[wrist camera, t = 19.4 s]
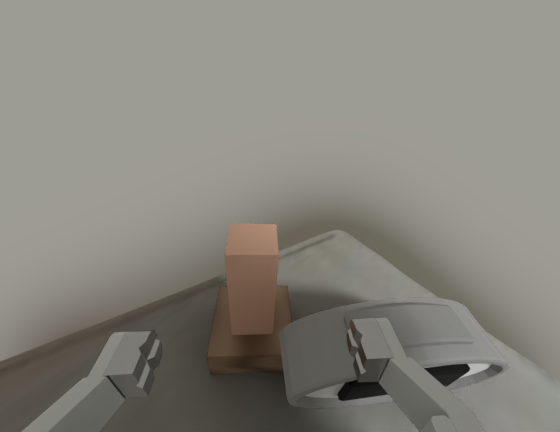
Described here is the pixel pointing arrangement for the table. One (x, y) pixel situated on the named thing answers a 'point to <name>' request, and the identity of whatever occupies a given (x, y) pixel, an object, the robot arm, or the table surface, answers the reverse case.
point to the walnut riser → (246, 340)
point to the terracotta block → (252, 277)
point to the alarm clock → (412, 336)
